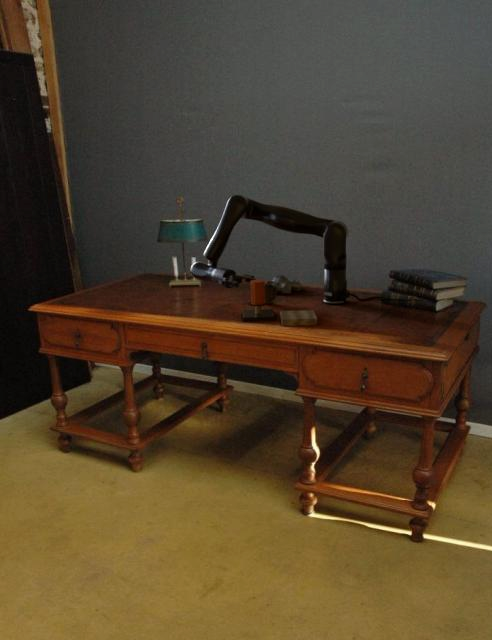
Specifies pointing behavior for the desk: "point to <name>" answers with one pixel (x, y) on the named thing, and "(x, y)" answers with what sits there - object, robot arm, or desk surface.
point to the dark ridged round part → (270, 293)
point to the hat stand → (258, 314)
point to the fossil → (285, 284)
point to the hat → (258, 293)
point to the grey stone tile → (298, 318)
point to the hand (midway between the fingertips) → (247, 283)
